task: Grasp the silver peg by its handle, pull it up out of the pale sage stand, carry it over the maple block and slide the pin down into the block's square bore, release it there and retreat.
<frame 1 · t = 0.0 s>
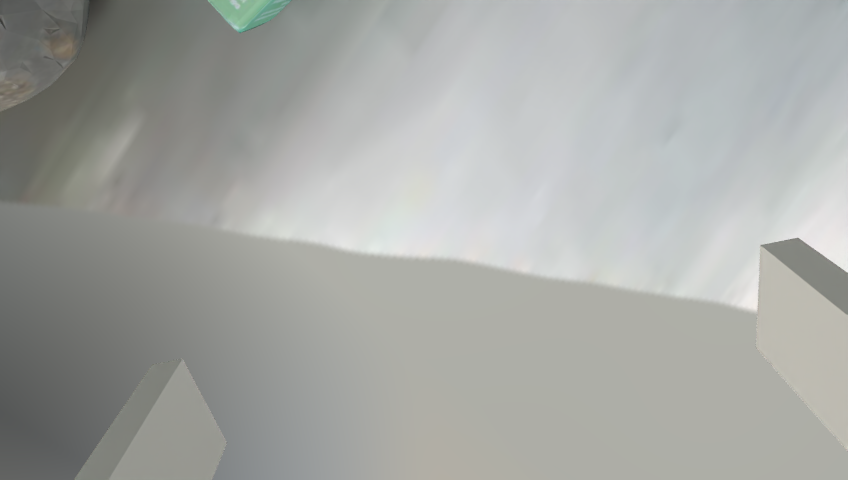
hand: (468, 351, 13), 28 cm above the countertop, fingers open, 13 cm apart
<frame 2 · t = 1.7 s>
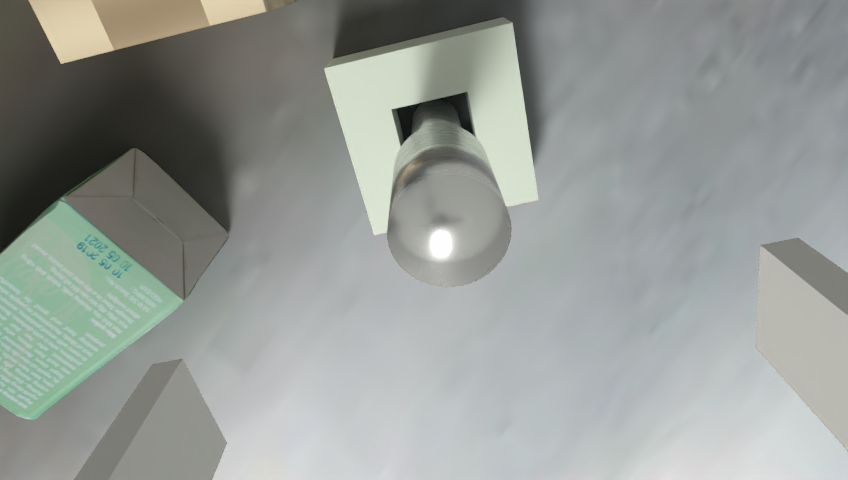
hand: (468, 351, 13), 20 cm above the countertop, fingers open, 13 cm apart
box: (114, 253, 34), on the countertop
silver peg: (440, 163, 24), in the stand
stand: (435, 122, 30), on the countertop
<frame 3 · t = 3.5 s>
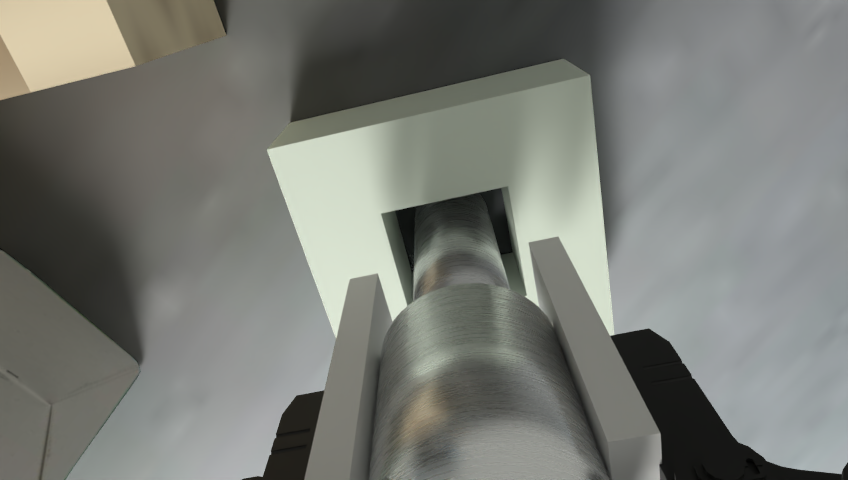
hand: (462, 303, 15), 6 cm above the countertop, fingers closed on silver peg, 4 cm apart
silver peg: (466, 333, 13), in the stand, touching gripper
stand: (451, 216, 20), on the countertop
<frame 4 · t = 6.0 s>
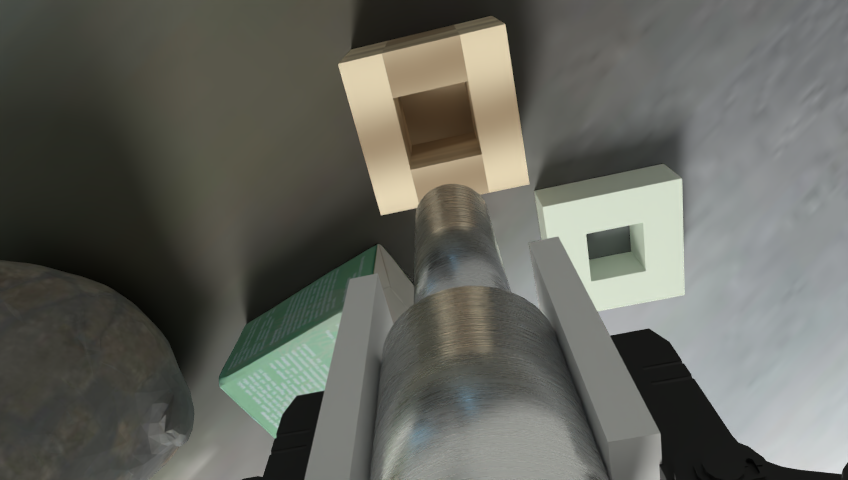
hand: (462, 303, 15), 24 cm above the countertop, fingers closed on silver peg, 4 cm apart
box: (336, 315, 44), on the countertop
vessel: (79, 337, 44), on the countertop
silver peg: (467, 335, 13), point 26 cm above the countertop, touching gripper
block: (435, 103, 36), on the countertop
stand: (603, 234, 40), on the countertop
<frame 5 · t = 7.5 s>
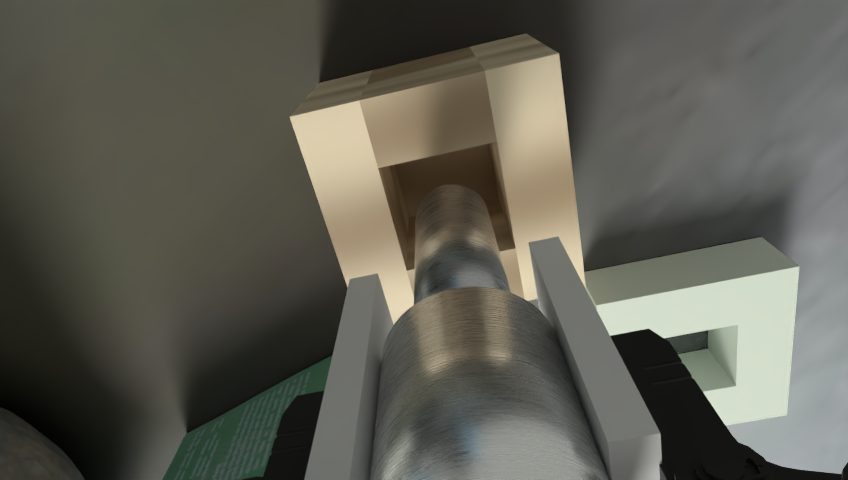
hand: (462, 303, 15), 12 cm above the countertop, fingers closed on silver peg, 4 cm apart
box: (307, 423, 33), on the countertop
silver peg: (467, 336, 13), point 13 cm above the countertop, touching gripper
block: (442, 158, 25), on the countertop
stand: (671, 327, 30), on the countertop
when the fingers open (8 cm above the countertop, at t = 8.6 s): silver peg stays where it is, resting on block.
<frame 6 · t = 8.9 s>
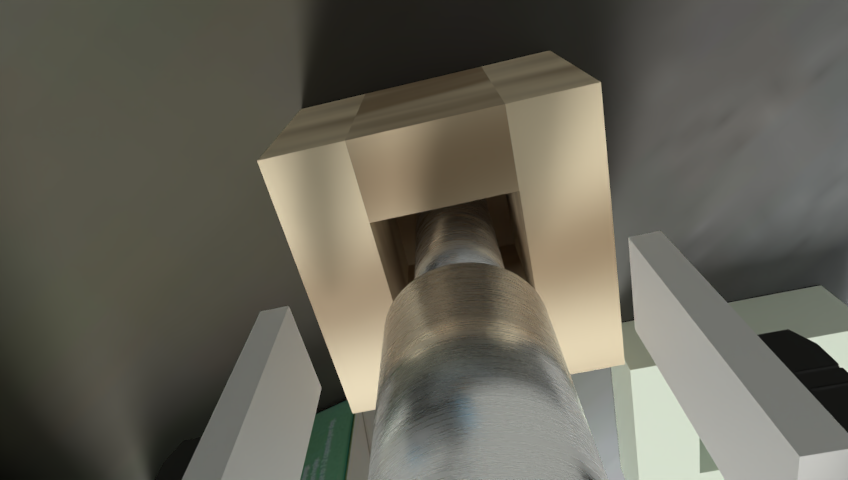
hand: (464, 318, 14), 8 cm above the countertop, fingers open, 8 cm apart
silver peg: (463, 311, 14), in the block, point 8 cm above the countertop
block: (448, 196, 21), on the countertop, touching silver peg
stand: (711, 385, 26), on the countertop
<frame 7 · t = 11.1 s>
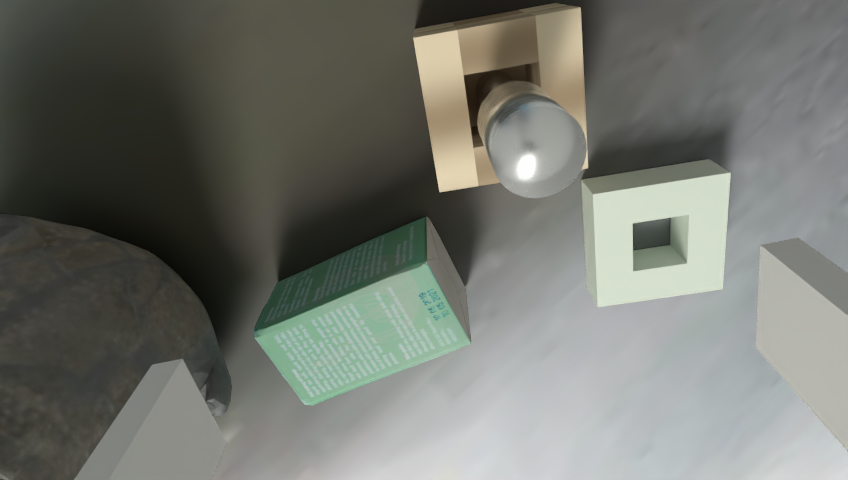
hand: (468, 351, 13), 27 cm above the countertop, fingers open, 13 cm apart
box: (369, 284, 44), on the countertop
vessel: (114, 306, 44), on the countertop
silver peg: (512, 115, 30), in the block, point 8 cm above the countertop
block: (492, 87, 37), on the countertop, touching silver peg
stand: (644, 226, 41), on the countertop
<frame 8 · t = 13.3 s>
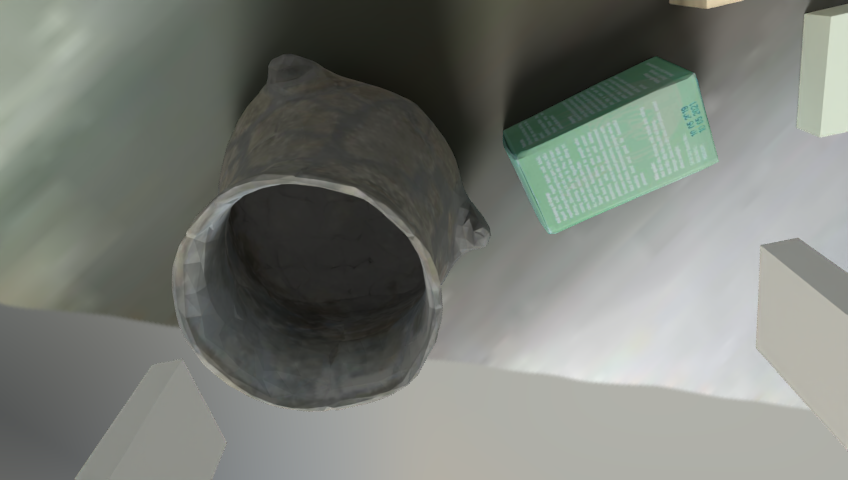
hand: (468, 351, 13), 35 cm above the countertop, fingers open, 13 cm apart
box: (587, 132, 46), on the countertop
vessel: (346, 173, 47), on the countertop
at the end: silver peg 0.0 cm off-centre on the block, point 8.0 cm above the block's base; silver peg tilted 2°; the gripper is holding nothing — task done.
